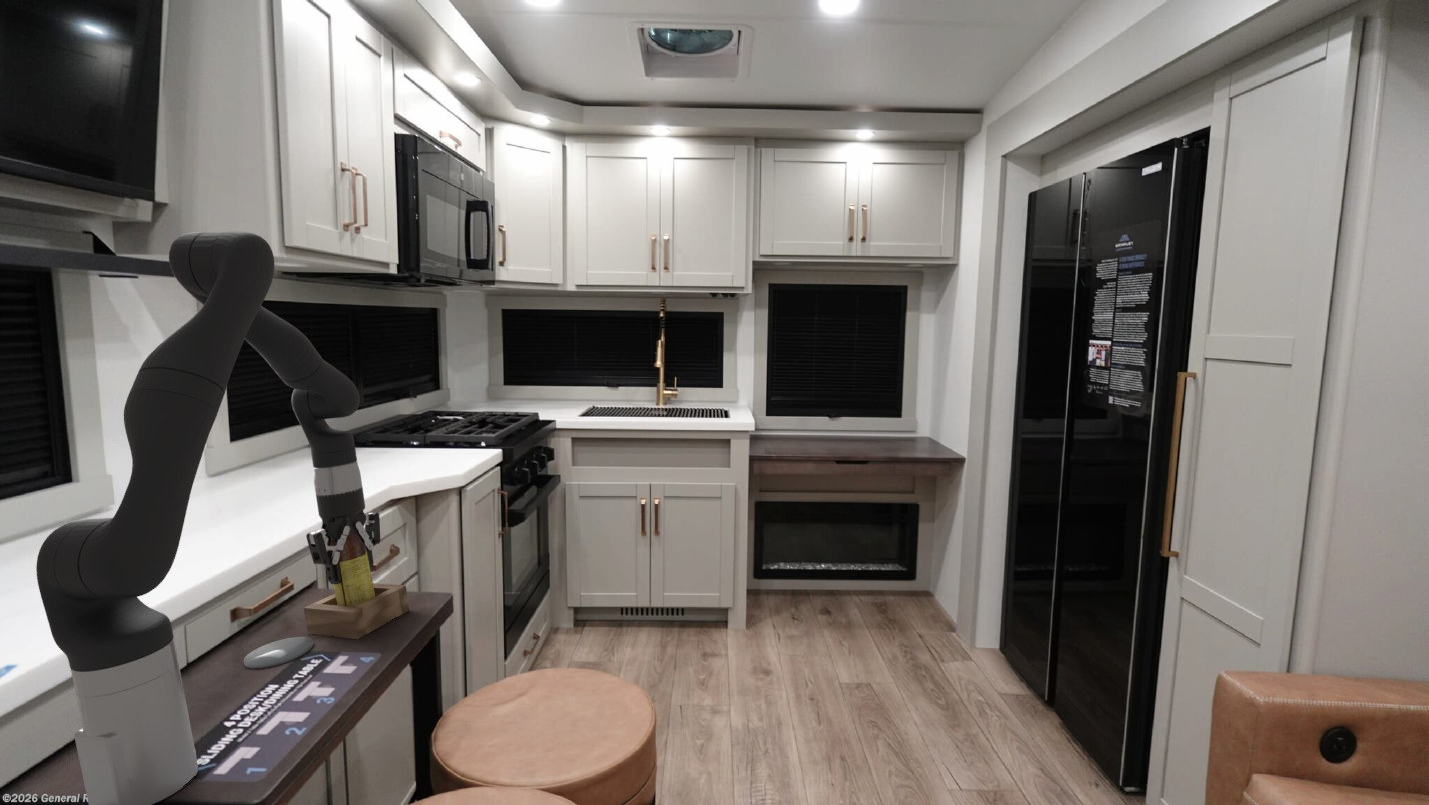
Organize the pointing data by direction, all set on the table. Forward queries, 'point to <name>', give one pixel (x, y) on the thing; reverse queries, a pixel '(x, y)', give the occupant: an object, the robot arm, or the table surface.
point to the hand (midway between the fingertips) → (352, 576)
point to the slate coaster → (278, 652)
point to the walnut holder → (356, 613)
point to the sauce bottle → (353, 570)
